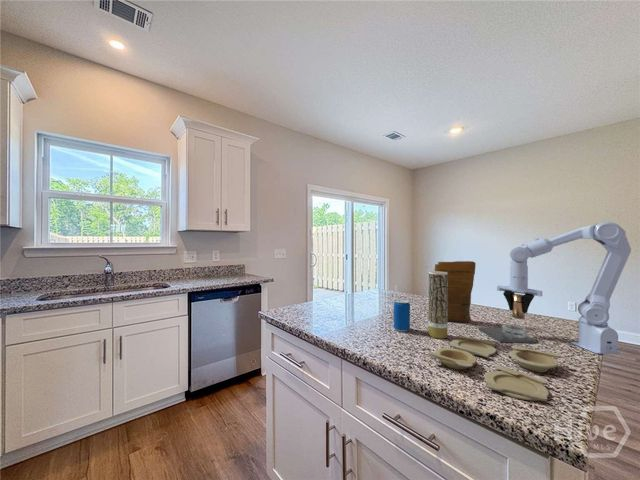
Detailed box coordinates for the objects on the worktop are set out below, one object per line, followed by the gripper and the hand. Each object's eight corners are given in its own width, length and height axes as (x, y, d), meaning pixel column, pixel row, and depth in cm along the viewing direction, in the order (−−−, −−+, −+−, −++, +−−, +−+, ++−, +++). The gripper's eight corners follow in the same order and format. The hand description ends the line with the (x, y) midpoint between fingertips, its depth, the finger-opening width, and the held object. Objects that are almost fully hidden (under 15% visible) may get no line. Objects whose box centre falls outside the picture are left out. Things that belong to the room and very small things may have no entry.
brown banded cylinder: (527, 319, 104) (527, 296, 104) (516, 318, 104) (517, 295, 104) (519, 316, 108) (520, 293, 108) (509, 315, 108) (509, 293, 108)
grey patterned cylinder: (449, 340, 100) (449, 273, 100) (430, 338, 102) (430, 273, 102) (444, 333, 107) (445, 271, 107) (426, 332, 108) (427, 271, 108)
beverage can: (407, 327, 114) (408, 299, 114) (411, 332, 108) (411, 303, 108) (392, 326, 115) (392, 299, 115) (395, 332, 109) (395, 302, 109)
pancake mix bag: (478, 324, 120) (479, 261, 120) (434, 322, 122) (435, 261, 122) (471, 319, 127) (472, 260, 127) (430, 318, 128) (430, 260, 128)
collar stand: (536, 342, 98) (536, 332, 98) (500, 342, 98) (500, 331, 98) (509, 330, 112) (509, 320, 112) (478, 329, 112) (478, 320, 112)
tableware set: (460, 338, 103) (460, 327, 103) (562, 364, 82) (562, 351, 82) (417, 367, 79) (417, 354, 79) (546, 415, 58) (546, 396, 58)
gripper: (544, 278, 103) (544, 313, 103) (501, 274, 114) (501, 306, 114) (539, 280, 98) (538, 317, 98) (495, 275, 110) (494, 308, 110)
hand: (518, 311), depth 106 cm, fingers closed on brown banded cylinder, 4 cm apart
